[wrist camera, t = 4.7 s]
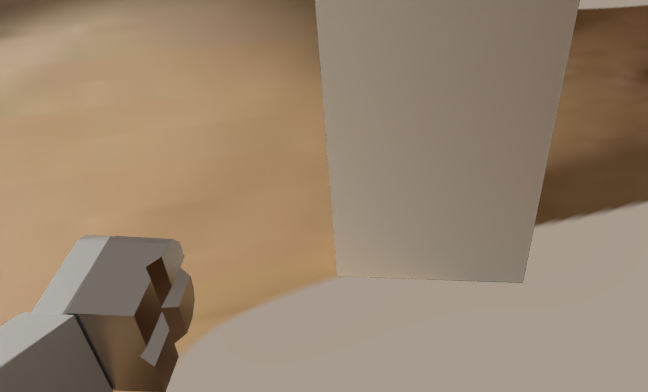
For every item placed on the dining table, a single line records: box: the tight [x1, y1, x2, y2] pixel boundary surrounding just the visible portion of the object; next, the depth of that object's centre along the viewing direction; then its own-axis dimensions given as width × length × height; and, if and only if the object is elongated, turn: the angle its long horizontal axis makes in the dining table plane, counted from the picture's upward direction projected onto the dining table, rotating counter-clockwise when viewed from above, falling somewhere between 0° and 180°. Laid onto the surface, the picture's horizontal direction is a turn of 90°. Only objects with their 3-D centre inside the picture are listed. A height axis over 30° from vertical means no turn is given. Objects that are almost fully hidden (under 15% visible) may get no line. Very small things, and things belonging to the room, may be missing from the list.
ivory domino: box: [315, 0, 580, 283], centre depth 14 cm, size 2×5×10 cm, turn 84°
